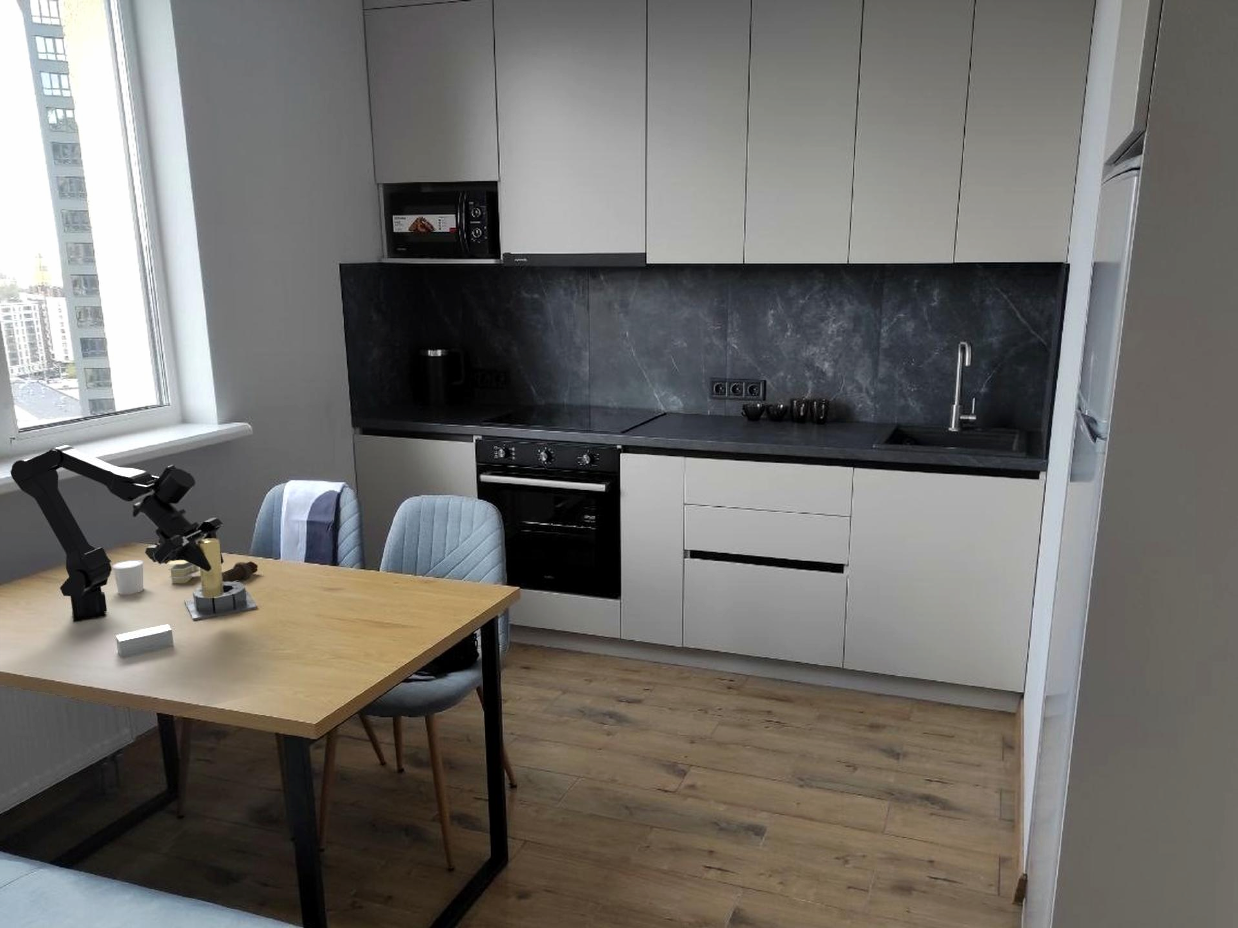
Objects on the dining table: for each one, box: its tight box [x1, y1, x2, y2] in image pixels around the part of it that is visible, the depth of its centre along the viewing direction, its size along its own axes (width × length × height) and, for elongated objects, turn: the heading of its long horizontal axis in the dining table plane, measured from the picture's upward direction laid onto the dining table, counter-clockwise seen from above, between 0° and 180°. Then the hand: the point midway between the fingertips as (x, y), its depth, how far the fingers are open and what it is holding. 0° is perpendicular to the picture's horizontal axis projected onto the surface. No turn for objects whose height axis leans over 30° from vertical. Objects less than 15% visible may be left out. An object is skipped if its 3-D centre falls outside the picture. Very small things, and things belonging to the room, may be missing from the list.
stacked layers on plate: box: [168, 560, 200, 584], centre depth 240 cm, size 10×9×6 cm
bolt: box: [222, 560, 259, 582], centre depth 238 cm, size 6×5×15 cm
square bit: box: [115, 624, 175, 659], centre depth 196 cm, size 10×4×4 cm, turn 128°
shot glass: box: [111, 559, 144, 595], centre depth 232 cm, size 7×7×7 cm
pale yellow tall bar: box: [198, 538, 224, 598], centre depth 208 cm, size 4×4×12 cm
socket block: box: [184, 581, 258, 622], centre depth 221 cm, size 14×14×4 cm
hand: (216, 566), depth 208 cm, fingers closed on pale yellow tall bar, 4 cm apart
